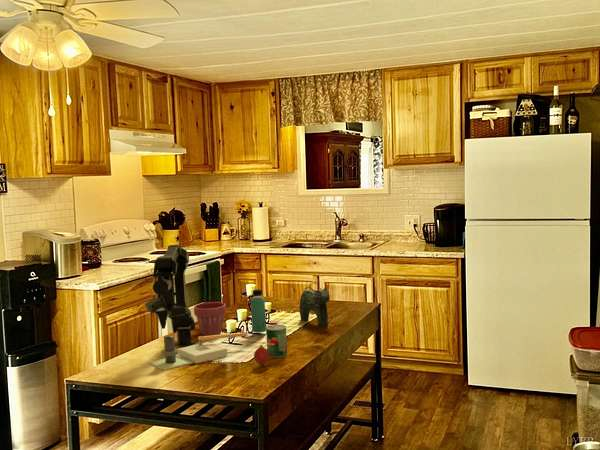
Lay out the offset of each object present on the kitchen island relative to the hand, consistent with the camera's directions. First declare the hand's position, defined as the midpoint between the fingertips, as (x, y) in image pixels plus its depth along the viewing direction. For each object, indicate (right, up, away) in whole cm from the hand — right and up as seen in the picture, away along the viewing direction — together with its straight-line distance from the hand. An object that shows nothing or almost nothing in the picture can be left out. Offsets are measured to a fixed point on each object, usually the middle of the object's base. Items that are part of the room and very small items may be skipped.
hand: (169, 330), depth 250 cm
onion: (+36, -12, -6) cm, 38 cm away
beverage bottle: (+32, -9, +42) cm, 53 cm away
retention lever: (+18, -6, +18) cm, 26 cm away
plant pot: (+10, -9, +47) cm, 49 cm away
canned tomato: (+41, -11, +8) cm, 43 cm away
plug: (0, -12, +1) cm, 12 cm away
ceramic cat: (+57, -6, +59) cm, 82 cm away
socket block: (+11, -12, +10) cm, 19 cm away
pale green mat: (0, -13, +1) cm, 13 cm away
